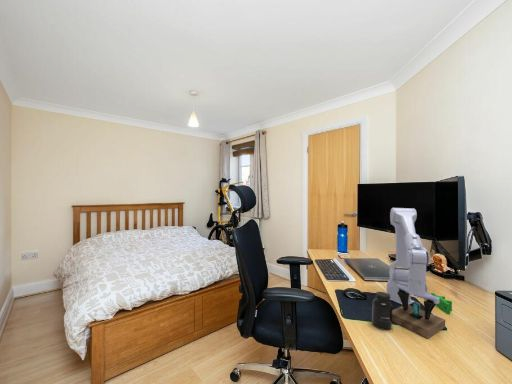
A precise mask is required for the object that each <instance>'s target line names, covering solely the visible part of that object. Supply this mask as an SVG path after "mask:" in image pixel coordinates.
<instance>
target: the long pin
mask: <svg viewBox="0 0 512 384" xmlns="http://www.w3.org/2000/svg"><path fill="white" fill-rule="evenodd" d="M412 306H413V310H412V317H415V318H417V319H420V310H421V303H420V302H418V301H415V302H413V303H412Z"/></svg>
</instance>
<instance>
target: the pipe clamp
mask: <svg viewBox="0 0 512 384" xmlns="http://www.w3.org/2000/svg"><path fill="white" fill-rule="evenodd" d="M430 294H432V295H434V296H436V297H439V298H440V301H439V303H438V304H436V305H435V307H437V308H438V309H439V310H441V311H442V312H444V313H445V314H446V315H451V312H452V311H453V300H449V299H446V296H444V295H438V294H436V293H434V292H430Z"/></svg>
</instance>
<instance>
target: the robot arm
mask: <svg viewBox="0 0 512 384" xmlns="http://www.w3.org/2000/svg"><path fill="white" fill-rule="evenodd" d="M417 216H418V214H417V210H416V209H415V207H414V208H413V207H412V208H406V207H405V208H404V207H392V208H391V209H390V212H389V220H390V221H389V222H390V225H392V226H393V227H394V231H395V260H394V261H392V262H391V263H390V264H389V270H388V271H389V274H388V275H389V279H388V280H387V282H386V293H387V294H389V295H390V301H393V302H395V303H397V304H400V305H401V306H403V310H405V311H406V310H408V305H413V302H416V301H415V300H413V299H412V296H415V297H418V298H420V299H423V307H424V311H425V319H426V320H428V319H429V318H430V314H432V312H433V310H434V308H435V307H436V304H438V303H439V301H440V298H439V297H436V296H434V295H432V294H431V293H429V292H427V291H426V289H427V288H426V285H427V284H426V282H427V266H428V265H429V264H430V255H429V251H428V250H427V248H426V247H424V245H423V241H422V239H421V237H420V235H419V234H417V233H416V228H415V222H416V220H417V218H418V217H417ZM424 299H426V300H427V301H424Z"/></svg>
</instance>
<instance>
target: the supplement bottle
mask: <svg viewBox="0 0 512 384" xmlns="http://www.w3.org/2000/svg"><path fill="white" fill-rule="evenodd" d="M371 306H372V309H371V311H372V313H371V324H372V325H373V326H375V327H376V328H378V329H381V330H387V331H388V330H390V329H392V327H393V322H392V310H394V309H393V304H392V302H391V300H390V295H389V294H387V292H384V291H376V292H375V298H374V299H373V300H372V305H371Z"/></svg>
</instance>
